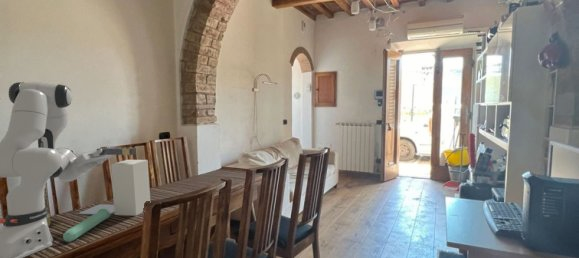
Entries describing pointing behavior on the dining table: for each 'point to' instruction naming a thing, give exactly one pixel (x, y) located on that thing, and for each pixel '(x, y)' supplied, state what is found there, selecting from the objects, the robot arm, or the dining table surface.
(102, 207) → the mat
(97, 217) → the mint green rounded rod
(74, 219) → the dining table surface
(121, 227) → the dining table surface
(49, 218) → the paper tube
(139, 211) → the pedestal
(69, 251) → the dining table surface
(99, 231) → the dining table surface
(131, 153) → the strut
